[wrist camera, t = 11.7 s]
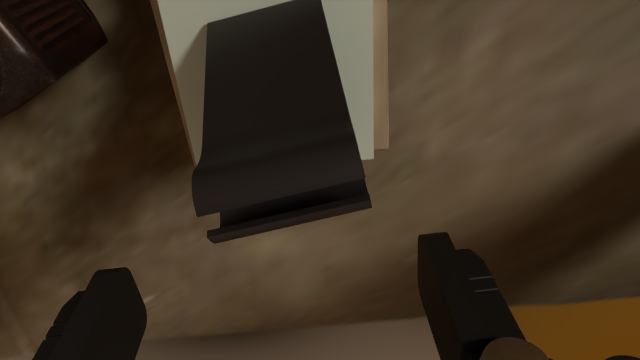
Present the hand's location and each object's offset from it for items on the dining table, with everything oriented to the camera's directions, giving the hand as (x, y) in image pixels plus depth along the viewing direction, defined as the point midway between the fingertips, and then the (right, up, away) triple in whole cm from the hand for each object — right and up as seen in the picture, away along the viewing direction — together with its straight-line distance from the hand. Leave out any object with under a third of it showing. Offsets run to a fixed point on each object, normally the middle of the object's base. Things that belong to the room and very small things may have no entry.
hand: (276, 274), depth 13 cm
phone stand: (-1, +8, +13) cm, 16 cm away
